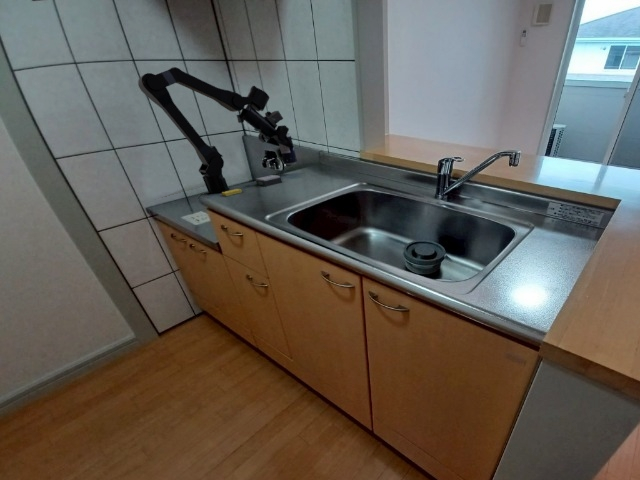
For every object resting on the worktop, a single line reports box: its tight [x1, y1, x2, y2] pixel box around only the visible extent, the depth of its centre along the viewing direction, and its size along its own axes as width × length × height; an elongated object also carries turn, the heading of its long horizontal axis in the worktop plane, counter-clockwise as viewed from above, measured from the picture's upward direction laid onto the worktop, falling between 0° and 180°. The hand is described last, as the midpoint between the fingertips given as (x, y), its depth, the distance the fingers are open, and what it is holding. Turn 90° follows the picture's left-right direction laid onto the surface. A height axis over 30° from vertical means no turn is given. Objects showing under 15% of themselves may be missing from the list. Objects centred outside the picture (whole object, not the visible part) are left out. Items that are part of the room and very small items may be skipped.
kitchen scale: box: [255, 174, 283, 187], centre depth 129 cm, size 7×7×2 cm
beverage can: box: [278, 132, 298, 166], centre depth 139 cm, size 6×6×12 cm
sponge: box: [221, 188, 243, 197], centre depth 119 cm, size 6×4×1 cm, turn 136°
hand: (289, 147), depth 140 cm, fingers closed on beverage can, 5 cm apart
